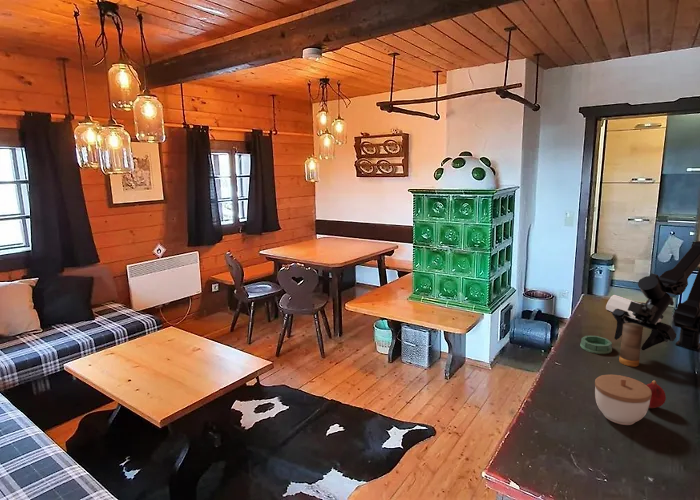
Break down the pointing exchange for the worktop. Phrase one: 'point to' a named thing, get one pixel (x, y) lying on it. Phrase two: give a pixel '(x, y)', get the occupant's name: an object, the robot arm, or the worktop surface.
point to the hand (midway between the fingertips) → (628, 344)
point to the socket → (596, 344)
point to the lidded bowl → (622, 398)
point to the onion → (656, 395)
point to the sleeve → (631, 344)
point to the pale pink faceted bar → (620, 305)
